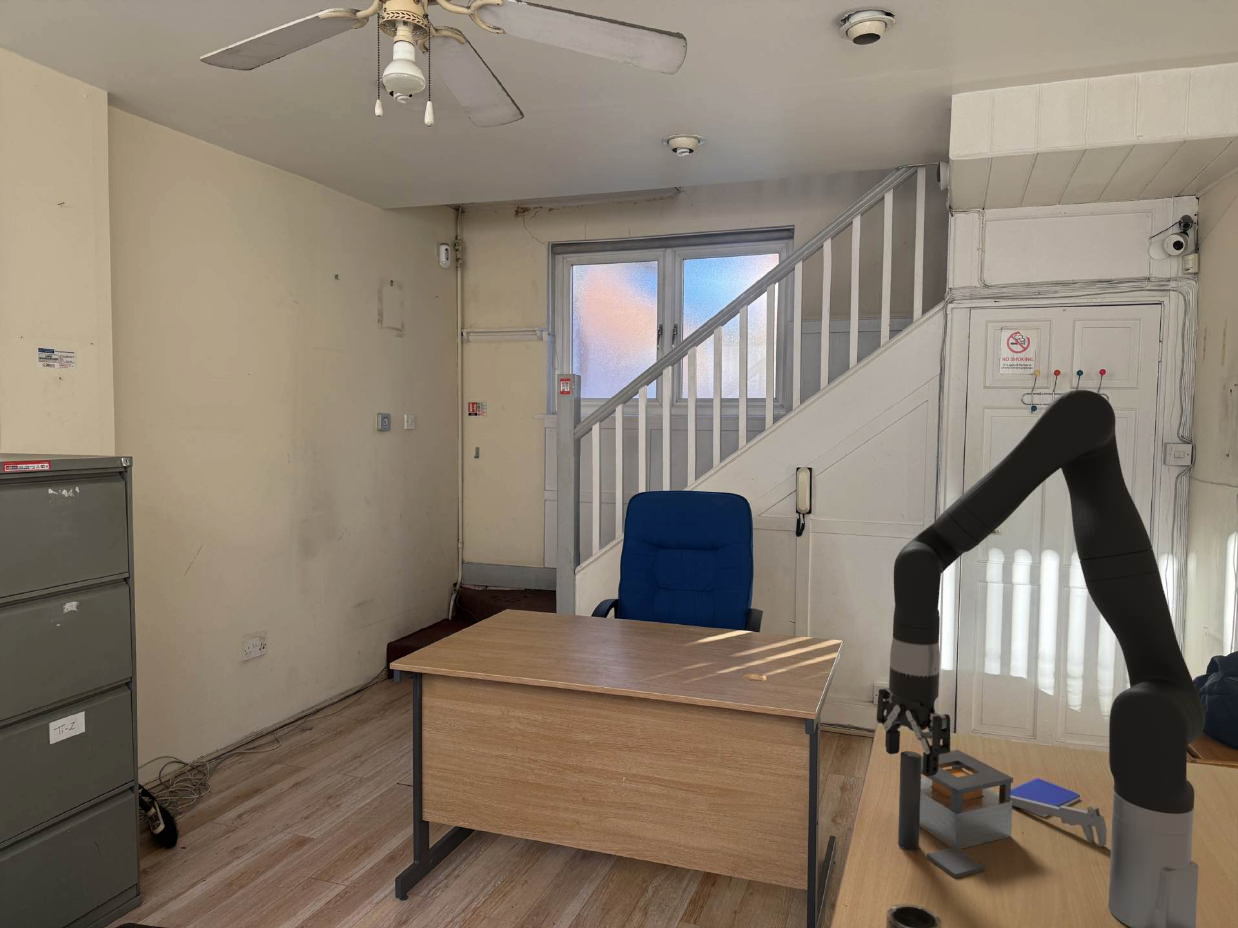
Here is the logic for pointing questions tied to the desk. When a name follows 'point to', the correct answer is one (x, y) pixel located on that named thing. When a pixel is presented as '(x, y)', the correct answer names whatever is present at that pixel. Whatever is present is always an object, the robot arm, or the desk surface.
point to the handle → (909, 800)
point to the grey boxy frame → (966, 803)
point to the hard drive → (1045, 794)
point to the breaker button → (948, 793)
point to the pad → (955, 862)
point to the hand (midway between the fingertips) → (910, 763)
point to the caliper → (1069, 817)
